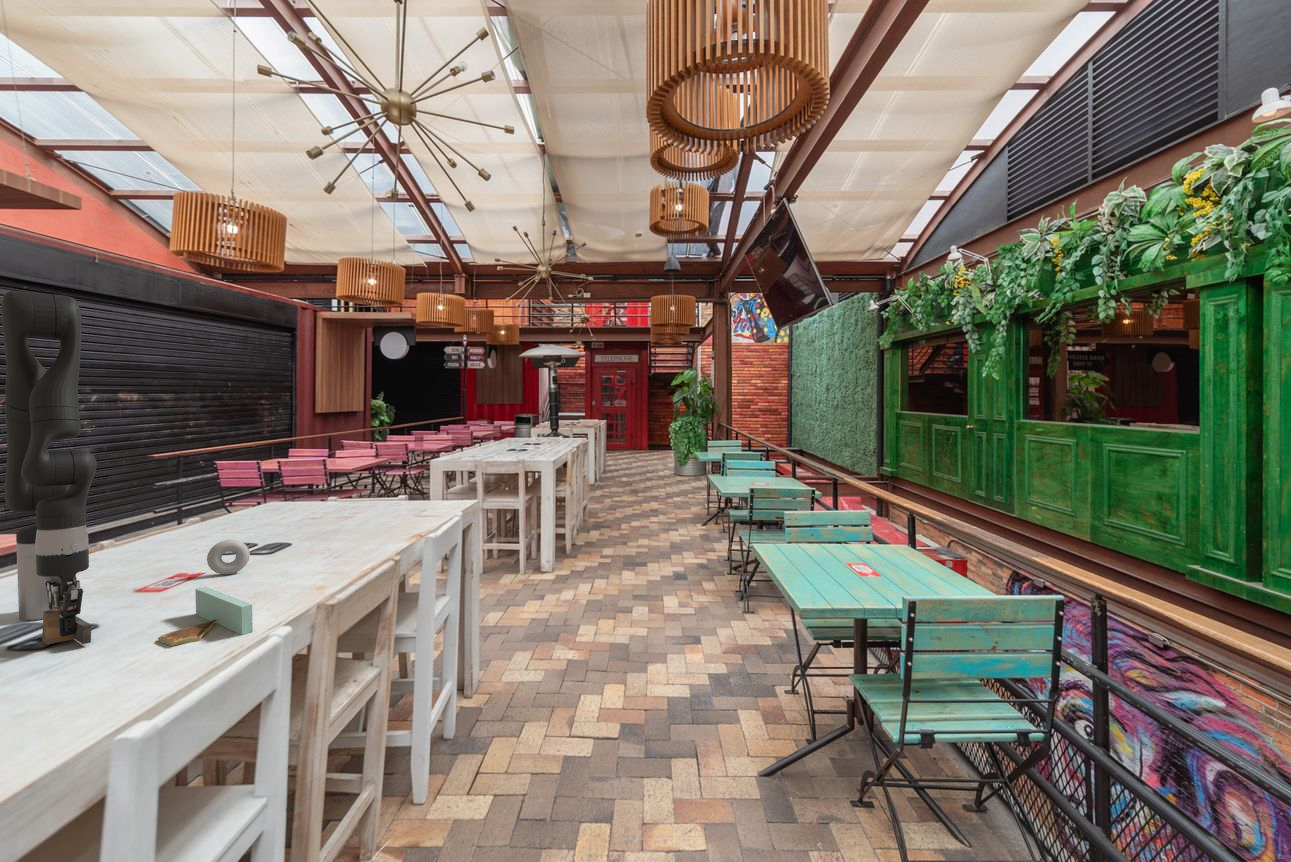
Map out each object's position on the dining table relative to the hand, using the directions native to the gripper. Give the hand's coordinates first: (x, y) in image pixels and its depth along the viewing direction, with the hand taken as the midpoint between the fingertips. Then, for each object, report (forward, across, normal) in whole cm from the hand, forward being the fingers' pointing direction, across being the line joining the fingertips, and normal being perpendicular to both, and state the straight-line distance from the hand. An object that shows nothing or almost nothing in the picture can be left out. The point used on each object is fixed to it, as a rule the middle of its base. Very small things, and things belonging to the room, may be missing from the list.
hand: (65, 632), depth 117 cm
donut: (+2, -26, +40) cm, 48 cm away
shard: (+3, +16, +14) cm, 22 cm away
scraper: (+1, 0, -1) cm, 2 cm away
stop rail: (+2, +14, +22) cm, 26 cm away
